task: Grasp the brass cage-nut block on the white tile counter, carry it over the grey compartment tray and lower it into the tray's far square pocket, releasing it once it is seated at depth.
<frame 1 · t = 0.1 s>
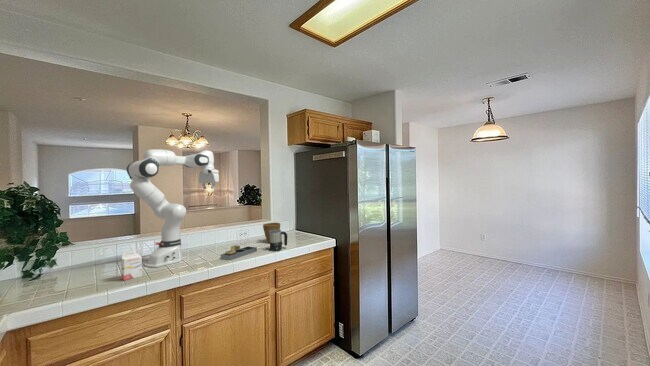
hand: (208, 188, 208), 48 cm above the counter, fingers open, 8 cm apart
installed nut: (230, 257, 182), point 1 cm above the counter, touching grey compartment tray
milk frother: (276, 248, 207), on the counter
ink cartridge box: (132, 278, 149), on the counter
plant pot: (272, 242, 228), on the counter
cage nut: (235, 252, 199), on the counter
grey compartment tray: (239, 255, 189), on the counter
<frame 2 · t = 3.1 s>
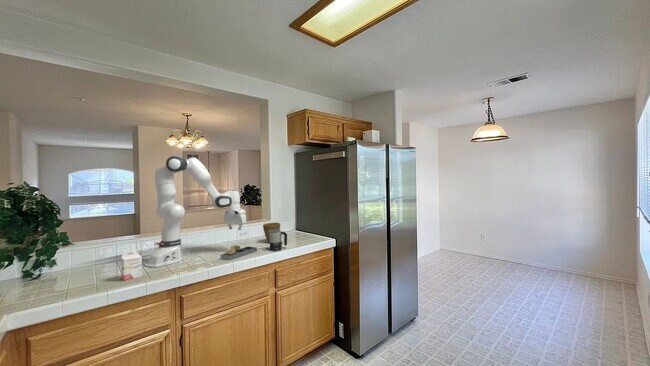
hand: (235, 229, 199), 17 cm above the counter, fingers open, 8 cm apart
nothing on the counter moved.
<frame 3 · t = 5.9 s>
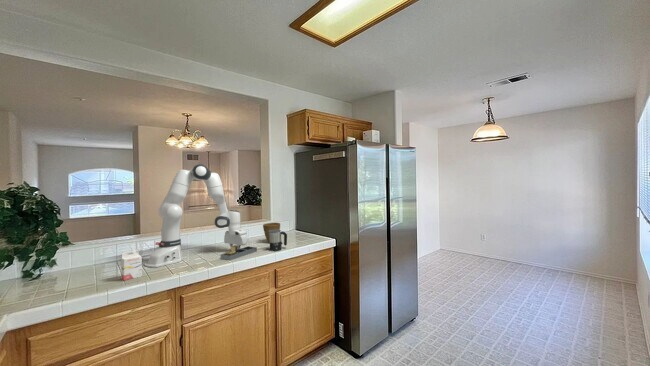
hand: (235, 250, 199), 2 cm above the counter, fingers closed on cage nut, 5 cm apart
cage nut: (235, 252, 199), on the counter, touching gripper
everything else where it was.
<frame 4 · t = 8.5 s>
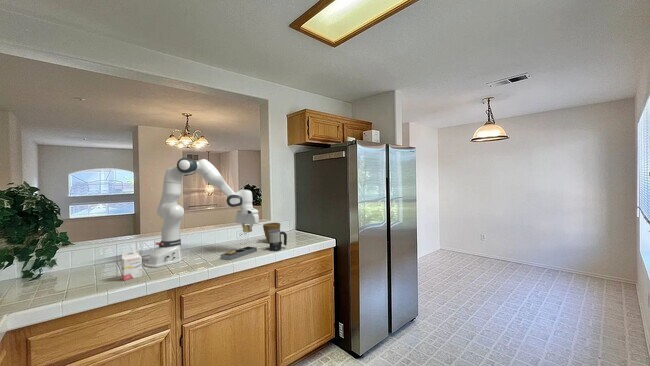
hand: (247, 229, 196), 17 cm above the counter, fingers closed on cage nut, 5 cm apart
cage nut: (247, 231, 196), point 16 cm above the counter, touching gripper
everything else where it was.
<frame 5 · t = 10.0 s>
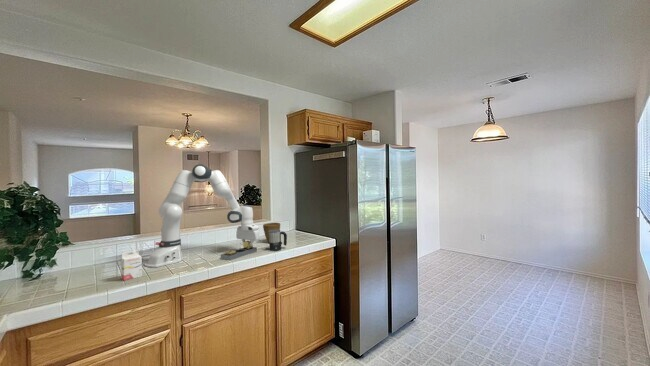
hand: (247, 245, 196), 5 cm above the counter, fingers closed on cage nut, 5 cm apart
cage nut: (248, 247, 196), point 4 cm above the counter, touching gripper
everything else where it was.
when the fingers open (4 cm above the counter, at t = 11.3 s): cage nut drops 2 cm, resting on grey compartment tray.
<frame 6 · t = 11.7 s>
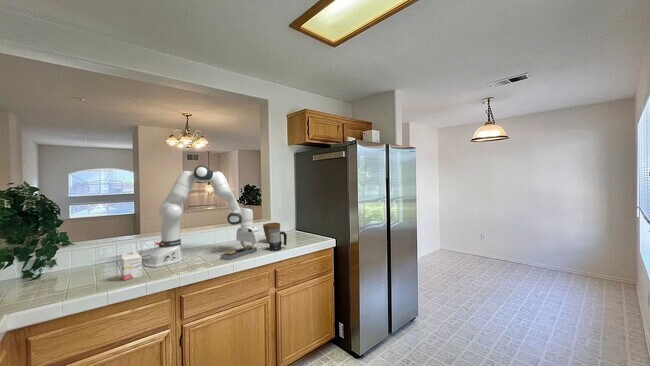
hand: (247, 247, 196), 4 cm above the counter, fingers open, 8 cm apart
cage nut: (247, 252, 196), point 1 cm above the counter, touching grey compartment tray
everything else where it was.
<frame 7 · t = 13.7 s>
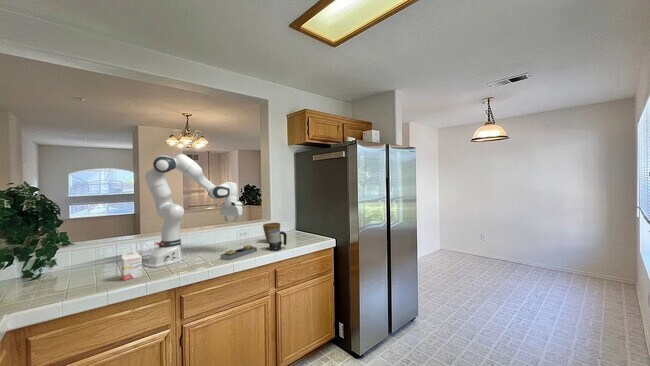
hand: (230, 221, 197), 23 cm above the counter, fingers open, 8 cm apart
nothing on the counter moved.
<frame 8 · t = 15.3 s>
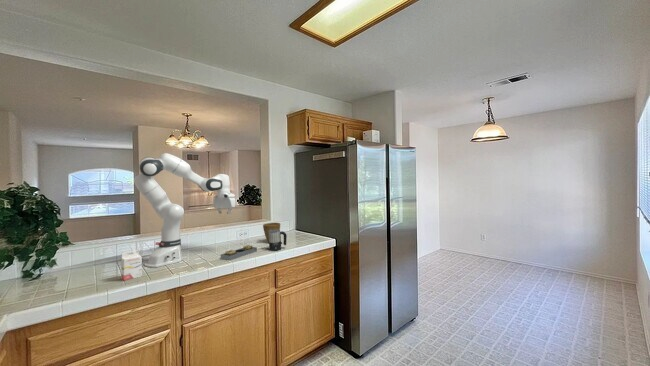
hand: (224, 213, 199), 29 cm above the counter, fingers open, 8 cm apart
nothing on the counter moved.
at the end: cage nut 0.1 cm from the target spot on the grey compartment tray, point 0.6 cm above the grey compartment tray's base; cage nut tilted 0°; the gripper is holding nothing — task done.
